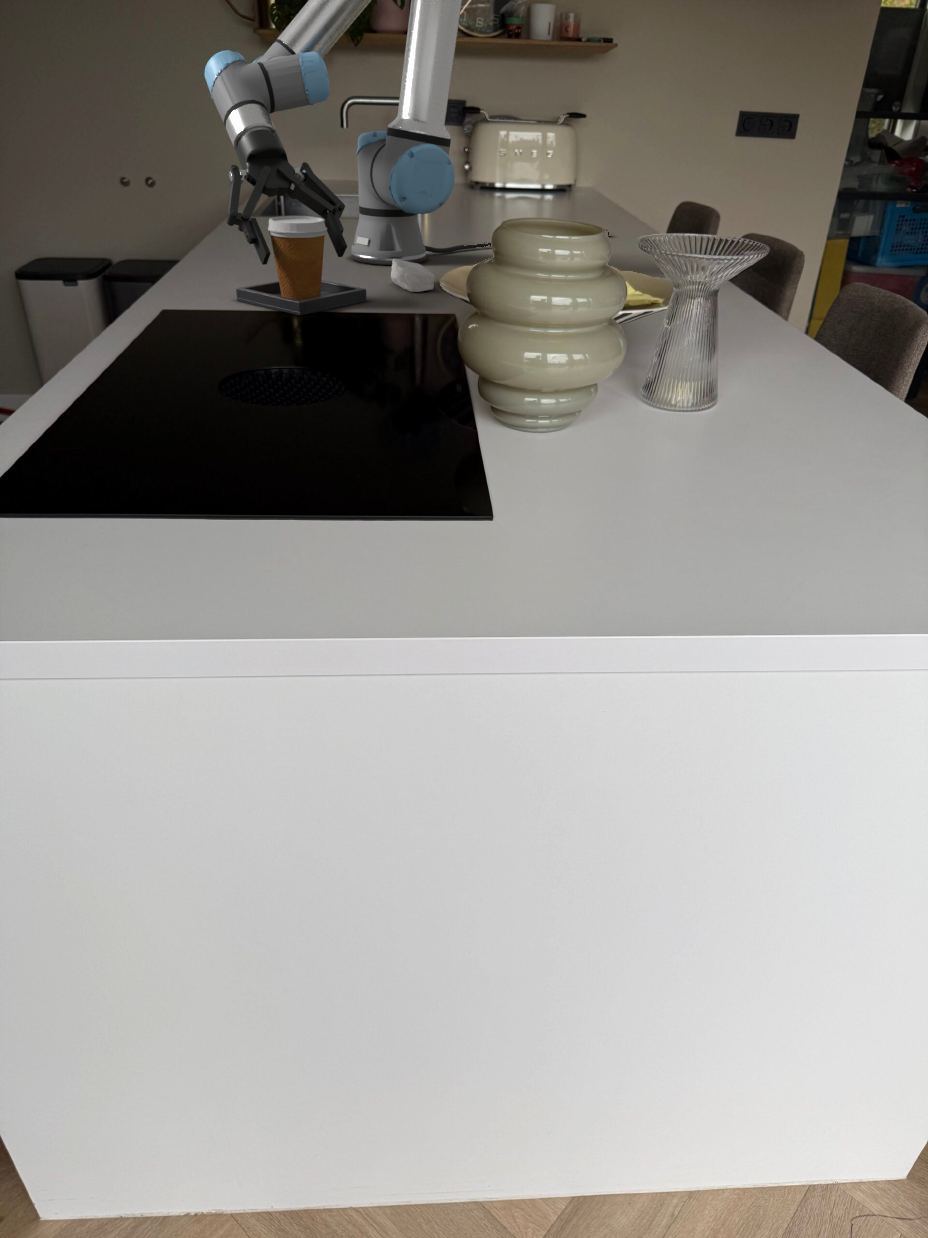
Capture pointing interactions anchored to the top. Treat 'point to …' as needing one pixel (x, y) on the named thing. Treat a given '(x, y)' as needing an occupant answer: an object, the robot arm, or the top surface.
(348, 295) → the pad
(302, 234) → the disposable coffee cup
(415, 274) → the white rock
